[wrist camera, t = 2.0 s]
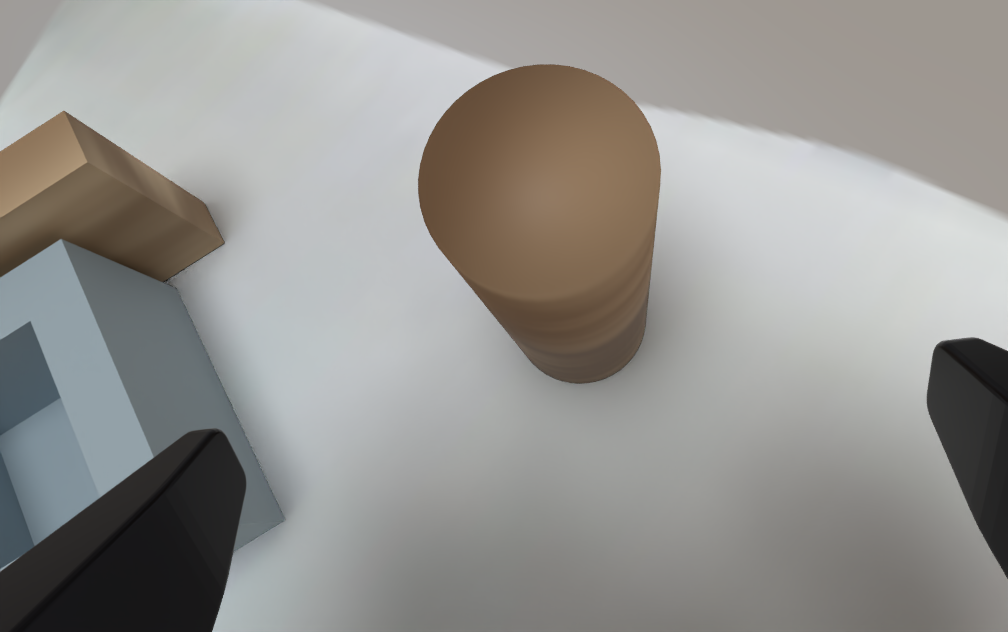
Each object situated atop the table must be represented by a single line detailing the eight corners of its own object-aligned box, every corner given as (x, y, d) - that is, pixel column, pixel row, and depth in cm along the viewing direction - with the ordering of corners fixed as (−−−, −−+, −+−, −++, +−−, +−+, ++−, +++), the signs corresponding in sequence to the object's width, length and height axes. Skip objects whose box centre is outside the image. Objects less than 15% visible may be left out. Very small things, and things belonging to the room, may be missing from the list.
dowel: (665, 284, 20) (699, 105, 11) (615, 404, 20) (602, 330, 10) (546, 239, 21) (477, 36, 12) (495, 353, 21) (379, 241, 11)
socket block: (287, 519, 21) (184, 530, 16) (52, 665, 21) (-120, 719, 16) (180, 290, 23) (61, 238, 18) (-33, 423, 23) (-206, 408, 18)
